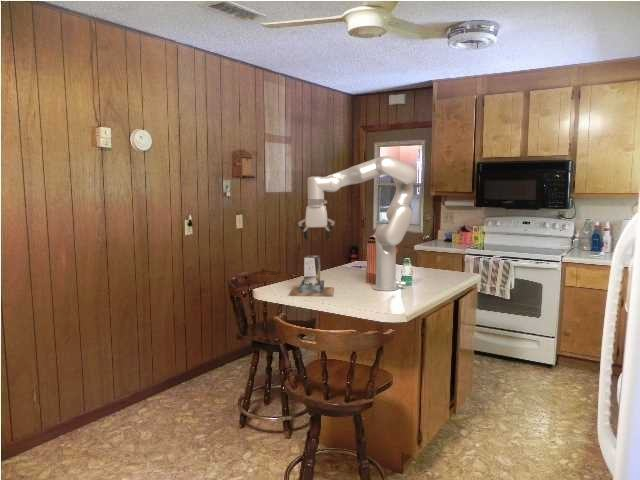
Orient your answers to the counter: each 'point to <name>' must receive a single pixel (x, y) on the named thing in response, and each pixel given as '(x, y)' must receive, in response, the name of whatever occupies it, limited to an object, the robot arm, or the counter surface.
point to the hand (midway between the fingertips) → (316, 239)
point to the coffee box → (312, 270)
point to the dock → (312, 290)
